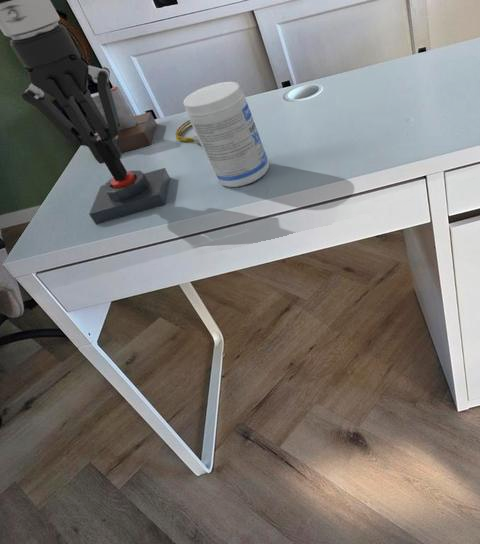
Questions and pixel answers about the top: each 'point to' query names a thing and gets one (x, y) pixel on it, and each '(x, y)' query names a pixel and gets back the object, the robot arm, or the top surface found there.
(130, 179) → the red button
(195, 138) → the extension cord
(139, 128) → the base
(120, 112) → the tap lever
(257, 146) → the supplement tub
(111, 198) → the button block
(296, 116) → the top surface
